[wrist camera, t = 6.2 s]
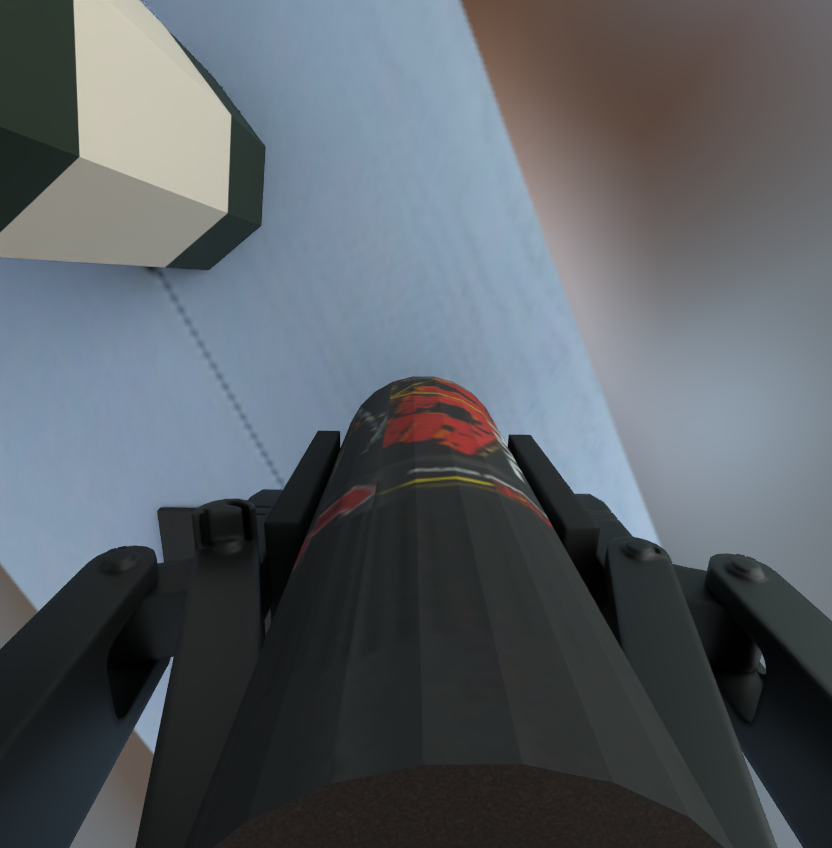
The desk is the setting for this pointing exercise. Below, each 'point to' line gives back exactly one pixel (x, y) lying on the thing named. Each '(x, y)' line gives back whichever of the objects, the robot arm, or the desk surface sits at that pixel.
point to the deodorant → (443, 668)
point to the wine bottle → (117, 141)
